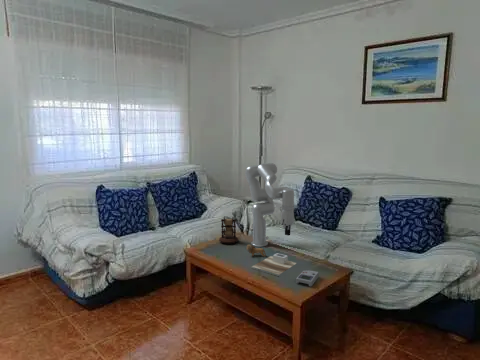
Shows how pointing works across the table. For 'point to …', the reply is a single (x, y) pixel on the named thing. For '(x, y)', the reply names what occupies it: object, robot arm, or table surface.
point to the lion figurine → (255, 250)
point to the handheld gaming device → (307, 277)
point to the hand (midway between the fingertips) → (287, 234)
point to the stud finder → (280, 258)
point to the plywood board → (273, 266)
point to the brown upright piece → (228, 231)
